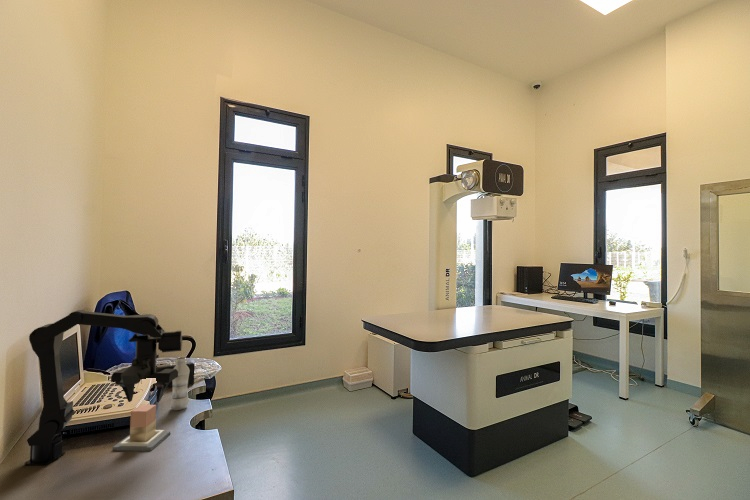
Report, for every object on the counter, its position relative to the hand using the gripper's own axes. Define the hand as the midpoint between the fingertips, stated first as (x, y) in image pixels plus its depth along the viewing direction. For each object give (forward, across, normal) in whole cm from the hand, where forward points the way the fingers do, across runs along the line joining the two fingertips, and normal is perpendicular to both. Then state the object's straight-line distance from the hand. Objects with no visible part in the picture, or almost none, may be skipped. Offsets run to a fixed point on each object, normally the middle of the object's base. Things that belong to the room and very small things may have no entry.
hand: (144, 401), depth 112 cm
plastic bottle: (+13, -2, +25) cm, 28 cm away
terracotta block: (+7, 0, 0) cm, 7 cm away
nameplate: (+13, -20, +48) cm, 53 cm away
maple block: (+12, 0, 0) cm, 12 cm away
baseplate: (+13, 0, 0) cm, 13 cm away
